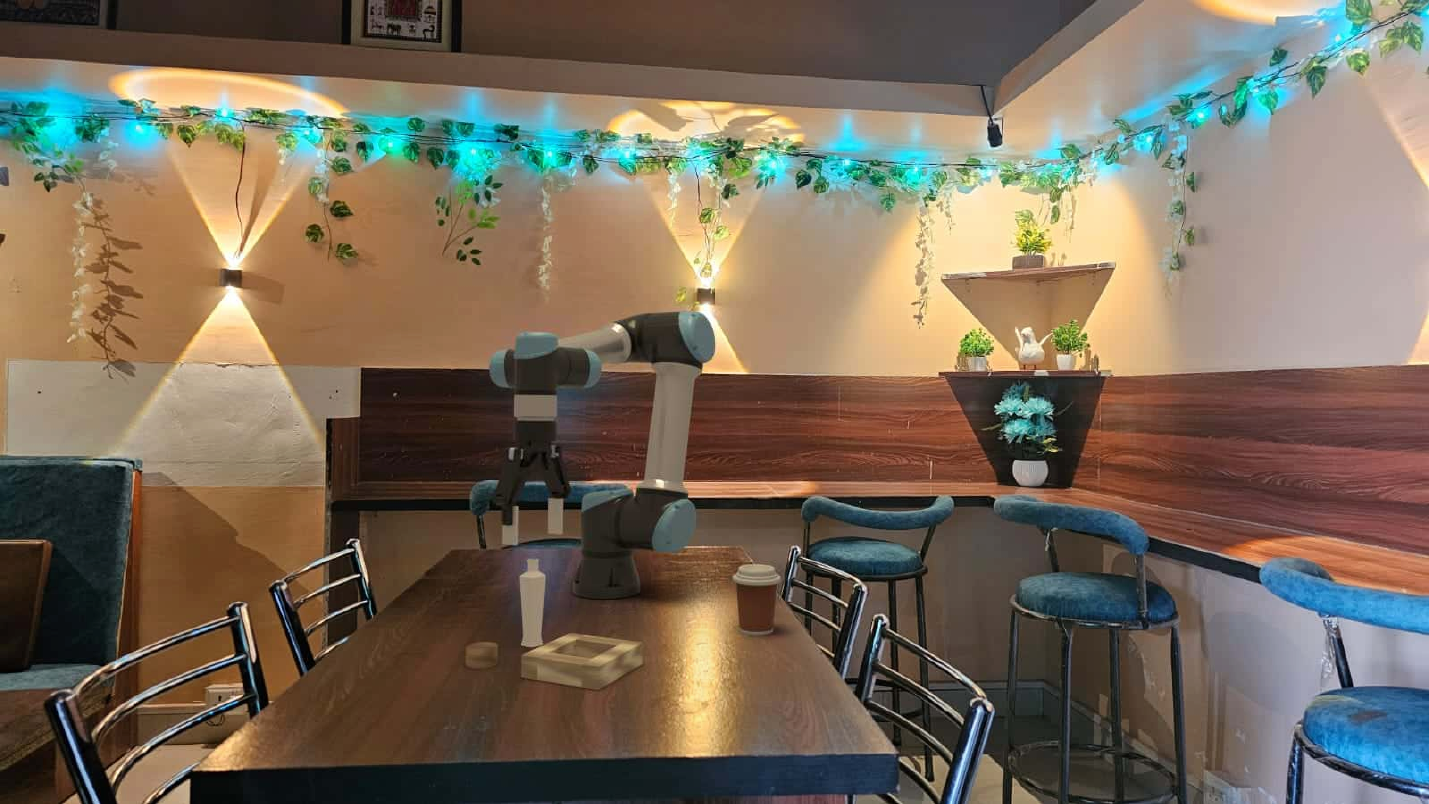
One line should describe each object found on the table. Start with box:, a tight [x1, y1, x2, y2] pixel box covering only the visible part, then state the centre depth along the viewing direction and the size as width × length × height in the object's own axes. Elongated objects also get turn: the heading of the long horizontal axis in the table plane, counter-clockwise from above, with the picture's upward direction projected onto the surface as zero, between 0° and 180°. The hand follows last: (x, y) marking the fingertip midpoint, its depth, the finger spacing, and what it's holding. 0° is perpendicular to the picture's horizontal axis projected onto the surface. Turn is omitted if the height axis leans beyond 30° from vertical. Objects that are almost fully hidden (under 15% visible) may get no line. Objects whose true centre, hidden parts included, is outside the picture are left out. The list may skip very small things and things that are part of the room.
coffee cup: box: [732, 563, 782, 636], centre depth 160 cm, size 9×9×12 cm
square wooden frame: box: [520, 632, 644, 691], centre depth 136 cm, size 14×14×4 cm
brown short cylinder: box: [465, 641, 499, 670], centre depth 139 cm, size 5×5×3 cm
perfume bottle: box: [519, 558, 547, 648], centre depth 150 cm, size 5×4×15 cm
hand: (533, 539), depth 150 cm, fingers open, 13 cm apart
